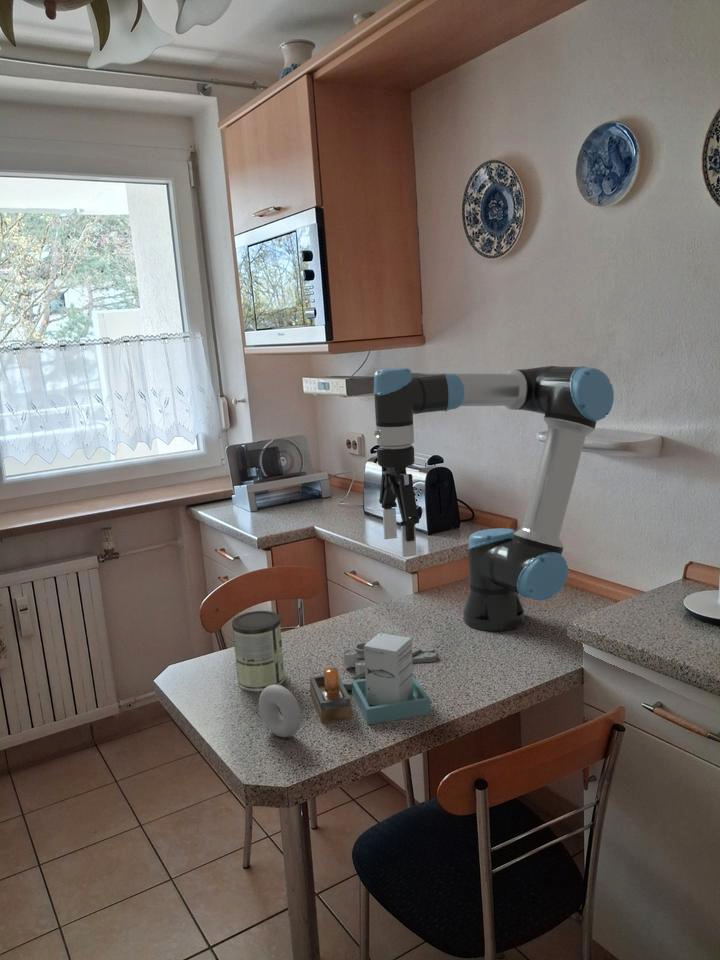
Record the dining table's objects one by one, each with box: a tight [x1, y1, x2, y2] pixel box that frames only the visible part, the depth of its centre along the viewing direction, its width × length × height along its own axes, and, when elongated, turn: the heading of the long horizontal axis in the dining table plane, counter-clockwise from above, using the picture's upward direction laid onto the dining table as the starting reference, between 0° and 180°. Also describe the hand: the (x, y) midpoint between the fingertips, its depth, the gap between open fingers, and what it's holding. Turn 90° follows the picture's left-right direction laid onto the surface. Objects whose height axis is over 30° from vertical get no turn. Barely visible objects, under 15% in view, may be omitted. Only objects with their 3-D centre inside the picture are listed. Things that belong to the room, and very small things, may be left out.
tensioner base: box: [309, 674, 353, 724], centre depth 154 cm, size 6×12×4 cm, turn 14°
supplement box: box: [364, 632, 414, 706], centre depth 153 cm, size 7×7×13 cm
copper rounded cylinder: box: [322, 666, 343, 701], centre depth 150 cm, size 4×4×6 cm
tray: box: [351, 675, 431, 726], centre depth 153 cm, size 13×13×3 cm
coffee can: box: [231, 610, 286, 693], centre depth 165 cm, size 10×10×14 cm
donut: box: [258, 684, 302, 738], centre depth 143 cm, size 10×3×10 cm, turn 48°
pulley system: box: [341, 642, 438, 691], centre depth 171 cm, size 27×5×15 cm
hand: (399, 546), depth 160 cm, fingers open, 13 cm apart
